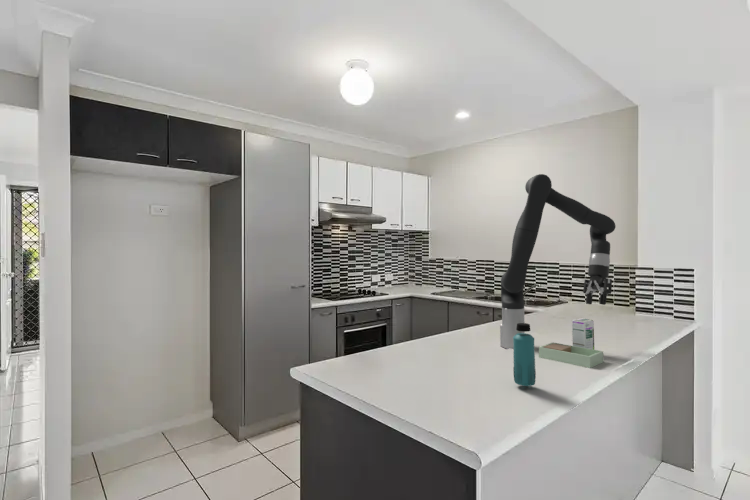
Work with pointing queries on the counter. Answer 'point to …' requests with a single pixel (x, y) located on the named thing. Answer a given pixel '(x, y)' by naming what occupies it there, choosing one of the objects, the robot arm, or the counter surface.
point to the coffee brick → (559, 347)
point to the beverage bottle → (524, 356)
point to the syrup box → (583, 333)
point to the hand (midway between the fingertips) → (595, 304)
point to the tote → (573, 355)
